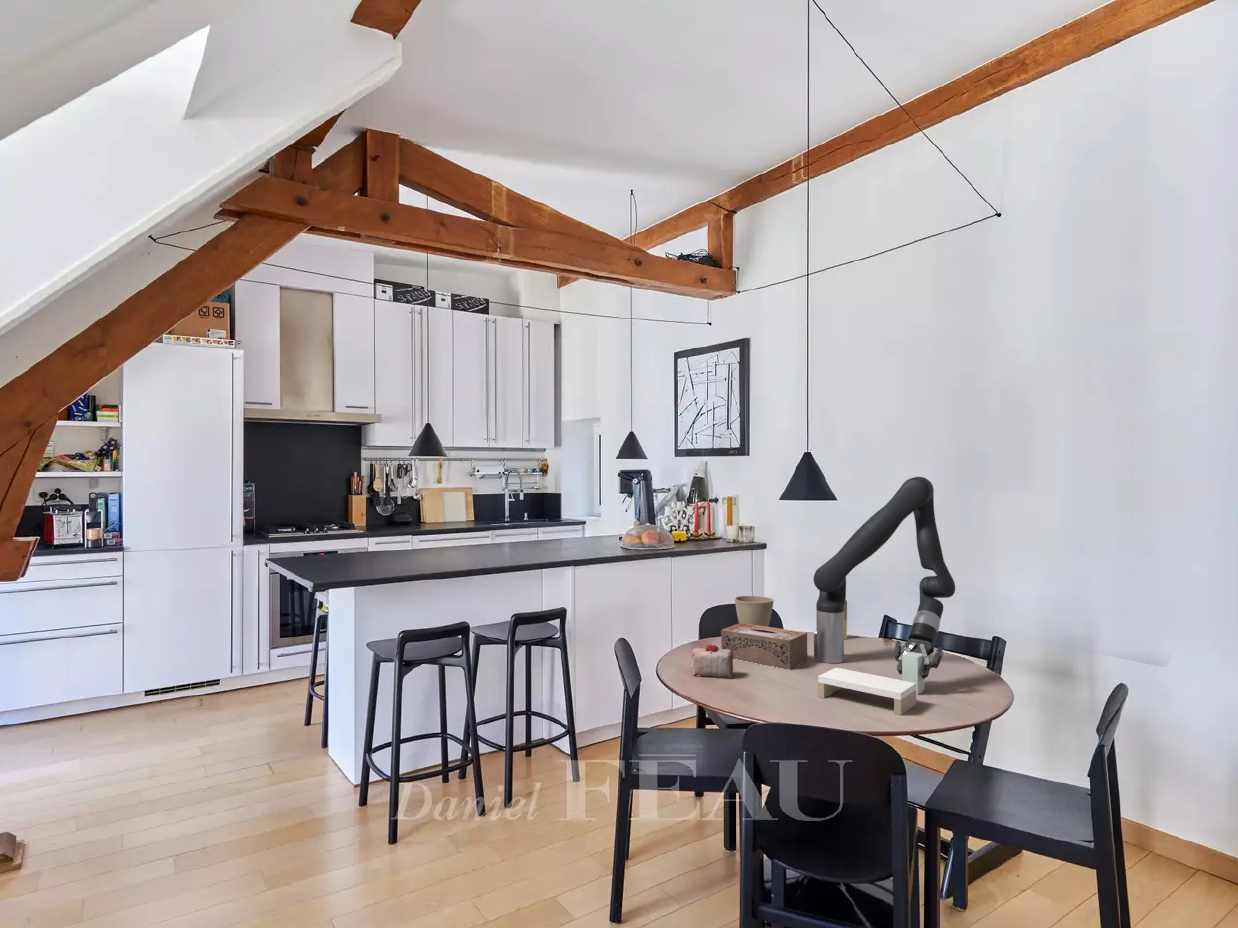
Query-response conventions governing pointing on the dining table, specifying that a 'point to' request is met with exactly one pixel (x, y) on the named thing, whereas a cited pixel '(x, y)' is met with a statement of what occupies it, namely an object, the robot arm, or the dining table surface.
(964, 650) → the dining table surface
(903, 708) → the shelf
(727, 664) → the food item
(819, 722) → the dining table surface
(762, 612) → the plant pot
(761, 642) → the tissue box cover
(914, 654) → the pale green rectangular block
